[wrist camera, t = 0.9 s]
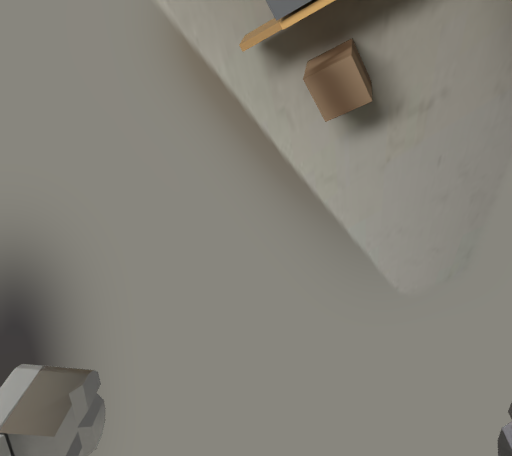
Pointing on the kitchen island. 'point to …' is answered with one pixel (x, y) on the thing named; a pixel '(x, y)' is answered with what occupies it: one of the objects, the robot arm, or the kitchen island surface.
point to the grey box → (284, 6)
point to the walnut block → (338, 81)
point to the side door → (281, 23)
